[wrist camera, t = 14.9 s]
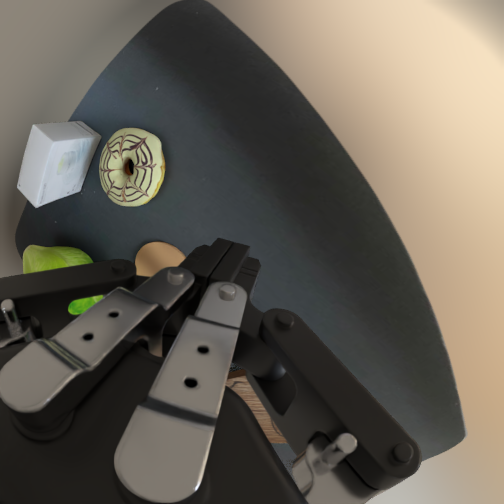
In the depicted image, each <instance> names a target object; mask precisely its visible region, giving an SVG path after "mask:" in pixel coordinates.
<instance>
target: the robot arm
mask: <svg viewBox="0 0 504 504" xmlns="http://www.w3.org/2000/svg"><path fill="white" fill-rule="evenodd" d="M249 252H250V246H247V245H243V244H239V243H236V242H232V241H228V240H224V239H221V238H218V239H217V240H216V241H215V242H214V243H213V244H212V245H211V246H207V245H202V246H200V247H197V248H195V249H194V250H193V251H192V252H191V253H190V254H189V255H188V257H186V258H185V259H184V260H183V261H182V262H181V263H180V264H179V265H178V266H177V267H176V266H171V267H165V268H162V269H160V270H159V271H158V272H156V273H155V274H154V275H153V276H151V277H149V276H141V275H137V268H136V265H135V264H134V263H132V262H130V261H128V260H124V259H113V260H107V261H100V262H94V263H88V264H81V265H75V266H69V267H63V268H57V269H50V270H44V271H38V272H32V273H26V274H21V275H15V276H9V277H3V278H0V504H365V503H366V502H367V501H368V500H370V499H371V498H373V497H375V496H377V495H378V494H380V493H383V492H384V491H386V490H388V489H390V488H391V487H393V486H395V485H396V484H398V483H400V482H402V481H403V480H405V479H406V478H408V477H410V476H411V475H413V474H414V473H415V472H416V471H417V470H418V468H419V467H420V464H421V461H422V453H421V450H420V447H419V445H418V444H417V442H416V441H415V440H414V439H413V438H412V437H411V436H410V435H409V434H408V433H407V432H406V431H405V430H404V429H403V427H402V426H401V425H400V424H399V423H398V422H397V421H396V420H395V419H394V418H393V417H392V416H391V415H390V414H389V413H388V412H387V411H386V409H385V408H384V407H383V406H382V405H381V404H380V403H379V402H378V401H377V400H376V399H375V398H374V397H373V396H372V395H371V393H370V392H369V391H368V390H367V389H366V388H365V387H364V386H363V385H362V384H361V383H360V382H359V381H358V380H357V378H356V377H355V376H354V375H353V374H352V373H351V372H350V371H349V370H348V369H347V368H346V367H345V366H344V365H343V363H342V362H341V361H340V360H339V359H338V358H337V357H336V356H335V355H334V354H333V353H332V352H331V350H330V349H329V348H328V347H327V346H326V345H325V344H324V343H323V342H322V341H321V340H320V339H319V337H318V336H317V335H316V334H315V333H314V332H313V331H312V330H311V329H310V328H309V327H308V326H307V324H306V323H305V322H304V321H303V320H302V319H301V318H300V317H299V316H298V315H296V314H295V313H293V312H291V311H288V310H285V309H270V310H268V311H266V312H265V313H263V312H261V311H259V310H258V309H257V308H255V307H254V306H253V305H252V303H251V300H252V297H253V294H254V291H255V287H256V283H257V279H258V275H259V271H260V267H261V265H260V263H259V260H258V259H254V258H251V257H248V256H249ZM100 295H103V298H102V299H101V300H99V301H98V302H97V303H95V304H94V305H93V306H91V307H90V308H89V309H87V310H86V311H85V312H84V313H82V314H77V315H73V314H71V313H69V311H68V307H69V305H70V303H71V302H73V301H75V300H79V299H84V298H90V297H95V296H100ZM231 362H232V363H234V364H236V365H237V366H239V367H241V368H242V369H244V370H246V373H245V375H246V379H247V381H248V382H249V384H250V386H251V387H252V389H253V390H254V392H255V394H256V395H257V397H258V398H259V400H260V402H261V403H262V405H263V406H264V408H265V409H266V411H267V413H268V414H269V416H270V417H271V419H272V420H273V422H274V423H275V425H276V426H277V428H278V429H279V431H280V432H281V434H282V435H283V437H284V438H285V440H286V441H287V443H288V444H289V445H290V447H291V448H292V450H293V451H294V453H295V454H296V455H297V457H296V459H295V460H294V462H293V465H292V473H293V476H294V478H295V480H296V482H297V485H296V484H295V482H294V481H293V479H292V477H291V476H290V474H289V473H288V471H287V470H286V468H285V466H284V465H283V463H282V462H281V460H280V458H279V457H278V455H277V453H276V452H275V450H274V448H273V447H272V445H271V443H270V442H269V440H268V438H267V436H266V435H265V433H264V431H263V430H262V428H261V426H260V424H259V423H258V421H257V419H256V417H255V415H254V414H253V412H252V410H251V409H250V407H249V406H248V405H247V403H246V402H245V401H244V400H243V399H242V398H241V397H240V396H239V395H238V394H237V393H236V392H235V391H234V390H232V389H231V388H229V387H228V386H226V382H227V378H228V373H229V369H230V365H231ZM297 486H298V487H297Z"/></svg>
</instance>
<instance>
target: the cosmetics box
mask: <svg viewBox="0 0 504 504" xmlns="http://www.w3.org/2000/svg"><path fill="white" fill-rule="evenodd" d="M100 139H101V135H99V134H98V133H97V132H95V131H94V130H92V129H91V128H90V127H88V126H87V125H86V124H84V123H83V122H82V121H75V122H55V123H41V124H33V126H32V129H31V132H30V136H29V139H28V143H27V146H26V150H25V154H24V158H23V162H22V166H21V171H20V175H19V180H18V186H17V188H18V189H19V190H20V191H21V192H22V193H23V195H24V196H25V197H26V198H27V199H28V200H29V201H30V202H31V203H32V204H33V205H34V206H35V207H36V208H37V207H39V206H41V205H44V204H46V203H49V202H52V201H54V200H57V199H60V198H62V197H65V196H68V195H71V194H74V193H77V192H80V190H81V187H82V185H83V182H84V179H85V176H86V173H87V171H88V168H89V166H90V163H91V161H92V158H93V156H94V153H95V151H96V148H97V146H98V144H99V142H100Z"/></svg>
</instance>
